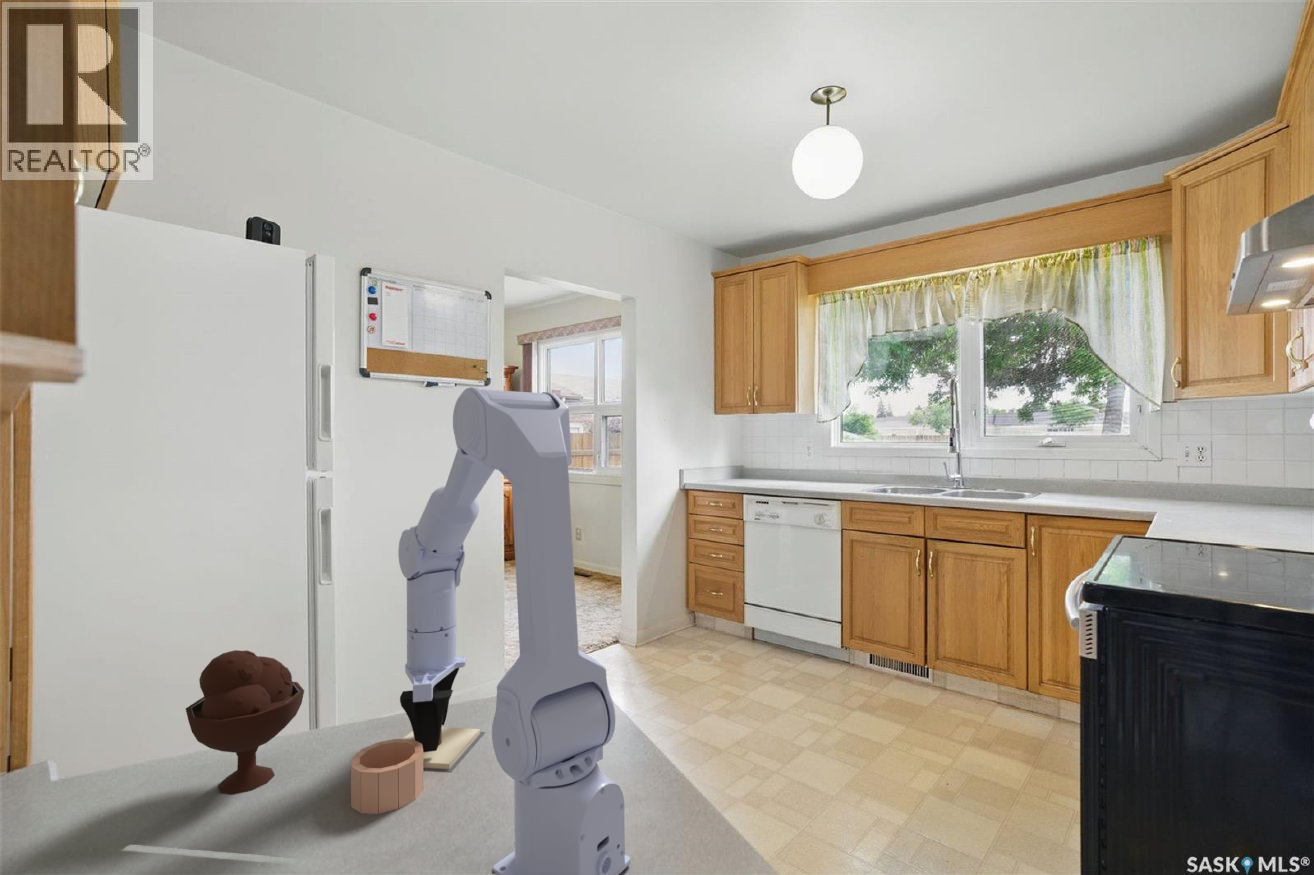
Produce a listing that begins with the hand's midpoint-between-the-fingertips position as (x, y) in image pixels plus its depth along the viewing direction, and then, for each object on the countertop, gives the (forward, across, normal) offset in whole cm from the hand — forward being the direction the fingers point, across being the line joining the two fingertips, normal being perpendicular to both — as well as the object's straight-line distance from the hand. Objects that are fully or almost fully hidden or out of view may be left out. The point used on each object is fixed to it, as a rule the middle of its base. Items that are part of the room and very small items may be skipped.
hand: (432, 737), depth 74 cm
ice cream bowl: (+2, -3, +19) cm, 19 cm away
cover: (+1, 0, 0) cm, 1 cm away
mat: (+2, 0, 0) cm, 2 cm away
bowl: (+2, -9, +3) cm, 10 cm away
